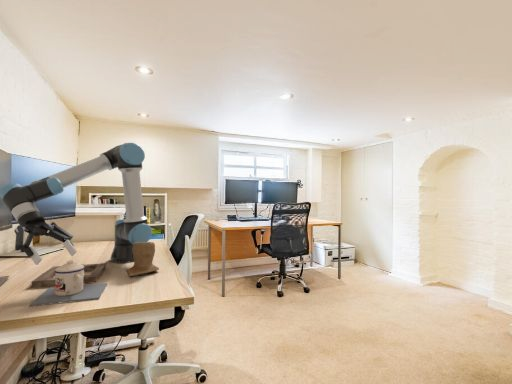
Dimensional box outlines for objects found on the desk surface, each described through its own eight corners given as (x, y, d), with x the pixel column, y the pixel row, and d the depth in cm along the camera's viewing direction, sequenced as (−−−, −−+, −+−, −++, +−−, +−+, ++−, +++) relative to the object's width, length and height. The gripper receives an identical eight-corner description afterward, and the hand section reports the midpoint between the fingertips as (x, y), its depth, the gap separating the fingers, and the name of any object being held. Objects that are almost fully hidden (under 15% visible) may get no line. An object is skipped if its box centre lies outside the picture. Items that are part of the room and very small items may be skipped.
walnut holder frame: (105, 268, 129) (106, 263, 129) (95, 282, 109) (95, 276, 109) (52, 271, 122) (53, 266, 122) (31, 287, 101) (31, 281, 101)
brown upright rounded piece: (149, 267, 133) (150, 238, 133) (162, 272, 125) (163, 241, 125) (119, 273, 121) (120, 242, 121) (130, 279, 114) (131, 245, 114)
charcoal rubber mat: (107, 284, 107) (107, 282, 107) (98, 299, 92) (99, 297, 92) (48, 289, 100) (48, 287, 100) (29, 306, 85) (29, 304, 85)
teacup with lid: (48, 293, 94) (50, 261, 95) (76, 286, 102) (77, 256, 103) (65, 300, 89) (67, 266, 89) (93, 292, 97) (94, 260, 97)
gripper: (54, 220, 114) (81, 256, 111) (-16, 226, 90) (14, 273, 86) (64, 208, 113) (91, 245, 109) (-5, 212, 89) (27, 259, 85)
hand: (57, 257), depth 98 cm, fingers open, 13 cm apart
